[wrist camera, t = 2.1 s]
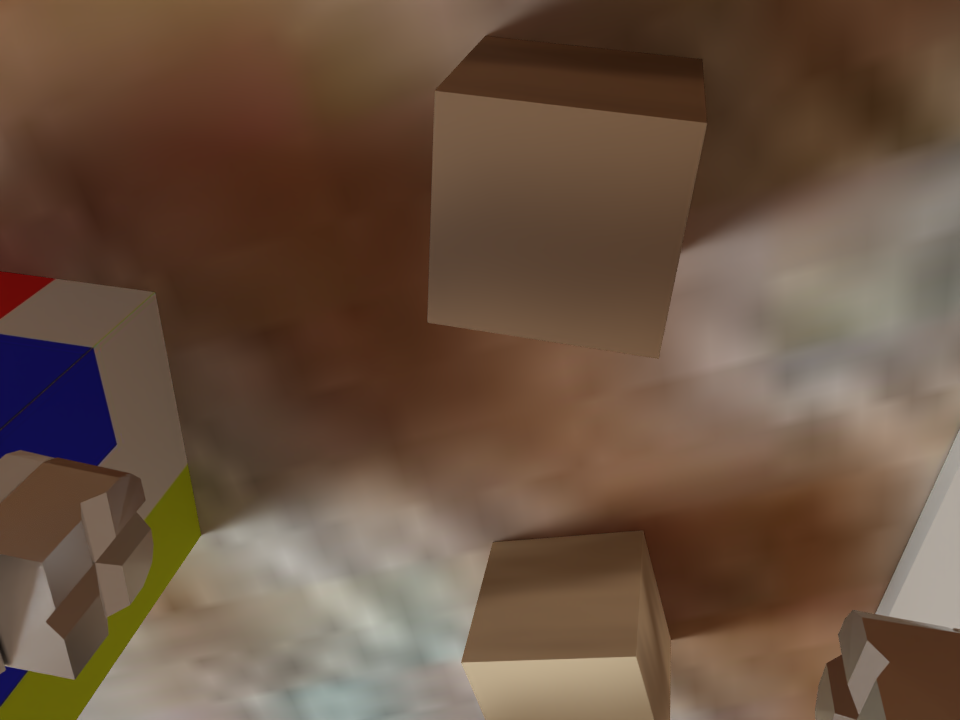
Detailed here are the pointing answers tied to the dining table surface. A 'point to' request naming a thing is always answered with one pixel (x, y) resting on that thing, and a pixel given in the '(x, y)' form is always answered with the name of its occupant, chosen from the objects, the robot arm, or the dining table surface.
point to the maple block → (570, 631)
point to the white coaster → (931, 557)
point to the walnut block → (563, 192)
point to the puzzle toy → (94, 439)
